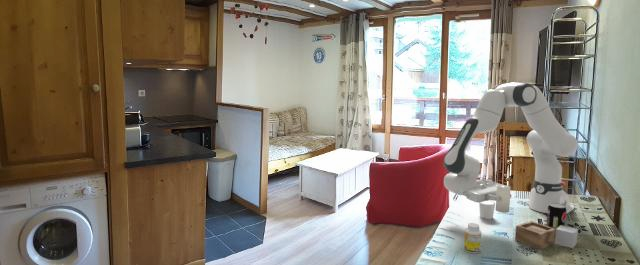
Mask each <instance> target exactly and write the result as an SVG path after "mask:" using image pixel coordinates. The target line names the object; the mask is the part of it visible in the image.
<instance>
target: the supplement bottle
mask: <svg viewBox="0 0 640 265" xmlns="http://www.w3.org/2000/svg"><path fill="white" fill-rule="evenodd" d="M464 232H465V233H464V235H465V236H464V250H465V251H466V253H469V254H472V255H473V254H474V255H477V254H479V253H480V252H481V250H482V249H481V247H482V230H481V229H480V225H479V224H477V223H475V222H469V223H467V228H466V229H465V231H464Z"/></svg>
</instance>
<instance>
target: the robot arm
mask: <svg viewBox="0 0 640 265" xmlns="http://www.w3.org/2000/svg"><path fill="white" fill-rule="evenodd" d="M514 107H520V108H521V111H522V113H523V115H524V117H525V120H526V122H527V124H528V126H529V127H530V128H531V131H529V132H528V134H527V136H526V143H527V145H528V147H529V148H530V149H531V151H532V155H533V158H534V163H535V173H534V174H535V175H534V179H533V183H532V184H533V188H531V190H530V192H529V194H530V196H529V200H528V201H526V205H527V206H528V208H530V209H531V210H533V211H536V212H539V213H544V214H547V213H548V206H549V204H550V203H558V204H562V205H565V206H566V210H567V211H566V215H567V214H569V213H571V212H572V211H573V210H575V209H574V208H576V206H574V205H573V204H570V203H571V202H570V195H568V193H566V192H565V191H564V190H563V189H564V187H566V185H567V183H566V182H565V181H562V176H563V175H562V174H563V166H562V165H561V163H560V161H558V158H557V156H558V157H567V156H568V157H569V156H573V155H574V154H575V153H576V151H577V150H578V148H579V143H578V140H577V138H576V137H575V136H574V135H572V134H570V133H569V131H567V130H566V129H565V128H564V127H563V125H562V124H560V122H559V121H558V120H557V118H556V117H555V114H554V113H553V110H552V109H551V107H550V104H549V103H548V100H547V98H546V97H545V95H544V94H543V92H542V91H541V89H540V88H539V87H538V86H536V85H532V84H531V83H527V82H508V83H499V84H496V85H495V86H493V87H492V88H491V89H488V90H487V91H485V92H484V93H483V95H482V96H481V99H480V100H479V102H478V104H477V107H476V108H475V111H474V112H473V115H472V116H471V117H470V118H468V119H467V120H466V121H465V122H464V124H463V126H462V127H461V129H460V131H459V133H458V134H457V136H456V138H455V140H454V141H453V143H452V145H451V147H450V149H448V151H447V152H446V154H445V155H444V157H443V167H444V168H445V170H446V171H447V172H448V173H446V175H445V176H444V177H443V185H444V188H445V189H446V190H447V191H449V192H451V193H453V194H455V195H459V196H464V197H465V198H466V199H467V200H469V201H472V202H474V203H480V202H484V201H492V202H494V201H495V202H496V201H501V197H500V196H496V194H497V185H503V184H501V183H498V182H493V179H492V180H491V179H478V177H479V174H480V172H481V168H482V166H481V162H480V160H478V159H476V158H474V157H472V156H470V155H468V154H466V151H467V149H468V147H469V146H470V143H471V142H472V139H473V138H474V137H475V136H476V135H478V134H483V133H484V134H485V133H489V132H493V131H494V130H495V129H496V128H497V127H498V126H499V124H500V120H501V118H502V116H503V112H504V109H505V108H514ZM510 199H512V194H511V193H510Z"/></svg>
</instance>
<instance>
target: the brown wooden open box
mask: <svg viewBox="0 0 640 265" xmlns="http://www.w3.org/2000/svg"><path fill="white" fill-rule="evenodd" d="M514 237H515V238H514V241H517V242H519V243H522V244H524V245H527V246H530V247H531V248H532V247H533V248H535V249H538V250H543V249H546V248H547V247H550V246H553V245H556V244H555V237H556V229H554V228H551V227H548V226H546V224H545V225H544V224H542V223H539V222H535V221H533V220H530V221H526V222H524V223H520V224H517V225H516V227H515V236H514Z"/></svg>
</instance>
